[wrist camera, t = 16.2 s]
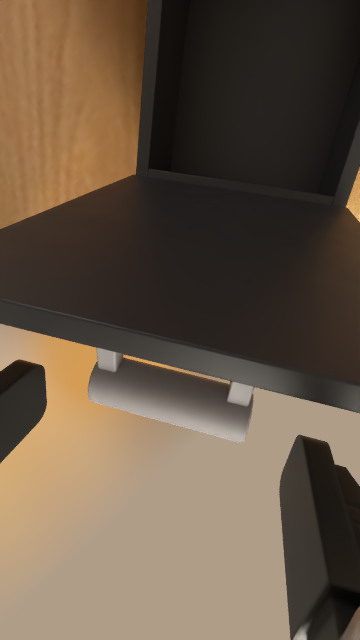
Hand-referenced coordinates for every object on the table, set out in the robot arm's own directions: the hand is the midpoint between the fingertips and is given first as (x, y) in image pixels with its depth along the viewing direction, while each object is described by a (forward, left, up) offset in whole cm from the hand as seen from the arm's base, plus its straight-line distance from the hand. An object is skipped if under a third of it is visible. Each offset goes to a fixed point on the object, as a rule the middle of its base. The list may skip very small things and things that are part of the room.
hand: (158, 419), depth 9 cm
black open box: (-13, -5, -22) cm, 26 cm away
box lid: (-5, -2, -7) cm, 8 cm away
